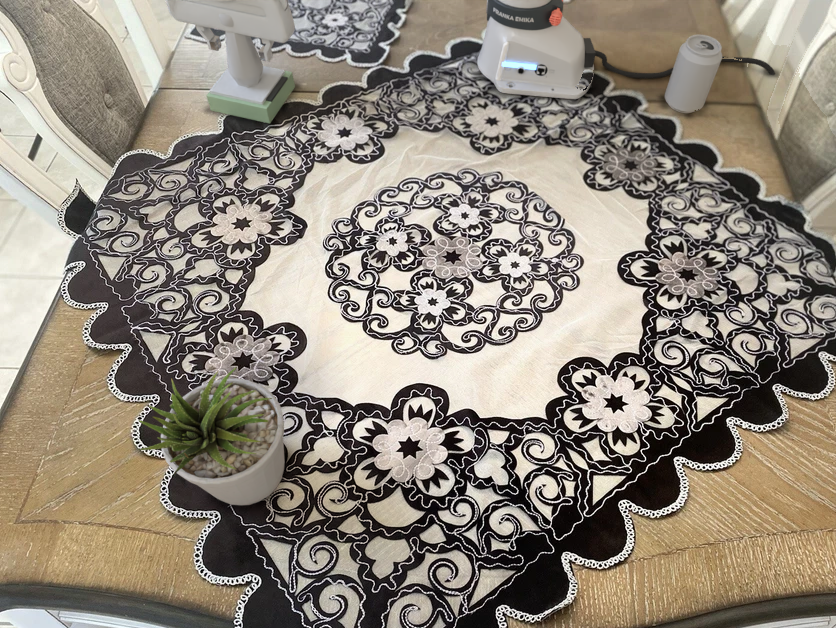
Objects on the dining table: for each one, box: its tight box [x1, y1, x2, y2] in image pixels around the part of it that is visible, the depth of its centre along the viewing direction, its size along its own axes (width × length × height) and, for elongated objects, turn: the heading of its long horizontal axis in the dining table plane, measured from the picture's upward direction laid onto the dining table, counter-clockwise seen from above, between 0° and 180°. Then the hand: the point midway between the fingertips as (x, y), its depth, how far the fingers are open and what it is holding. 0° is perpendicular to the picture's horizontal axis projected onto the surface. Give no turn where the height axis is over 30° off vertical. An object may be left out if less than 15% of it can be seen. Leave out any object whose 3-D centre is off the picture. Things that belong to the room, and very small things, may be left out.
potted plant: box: [138, 366, 286, 506], centre depth 73 cm, size 13×14×20 cm
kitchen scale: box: [206, 65, 296, 124], centre depth 118 cm, size 11×11×4 cm
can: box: [664, 34, 723, 114], centre depth 122 cm, size 8×8×12 cm
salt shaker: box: [219, 14, 264, 87], centre depth 111 cm, size 6×6×13 cm
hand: (241, 53), depth 113 cm, fingers open, 8 cm apart
